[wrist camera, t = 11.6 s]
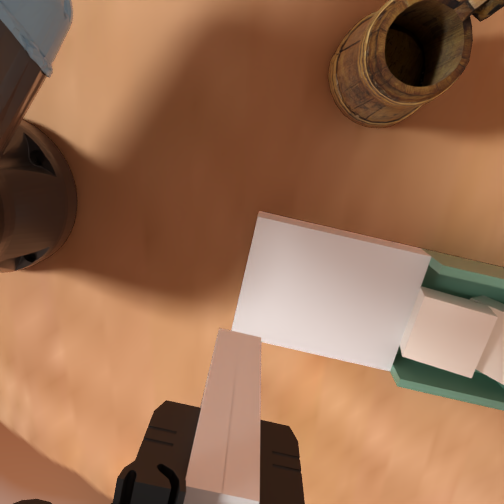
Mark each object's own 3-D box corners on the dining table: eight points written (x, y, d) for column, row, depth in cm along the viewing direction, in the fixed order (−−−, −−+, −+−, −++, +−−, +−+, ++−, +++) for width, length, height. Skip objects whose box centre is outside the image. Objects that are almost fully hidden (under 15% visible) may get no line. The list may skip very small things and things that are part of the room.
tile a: (399, 342, 40) (402, 356, 37) (419, 285, 38) (424, 296, 36) (463, 362, 39) (471, 378, 36) (487, 304, 37) (497, 317, 34)
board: (233, 321, 43) (230, 334, 40) (259, 210, 40) (257, 216, 37) (382, 355, 43) (390, 371, 40) (420, 248, 40) (431, 256, 37)
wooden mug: (500, 42, 35) (724, -51, 17) (367, 147, 38) (446, 157, 20) (441, -51, 33) (623, -254, 16) (307, 66, 36) (338, 2, 19)
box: (382, 355, 43) (397, 386, 38) (420, 248, 40) (442, 265, 35) (493, 381, 43) (523, 415, 38) (540, 275, 40) (580, 297, 35)
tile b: (513, 390, 36) (525, 383, 38) (541, 329, 34) (552, 324, 36) (448, 353, 40) (461, 348, 42) (470, 297, 38) (483, 295, 40)
